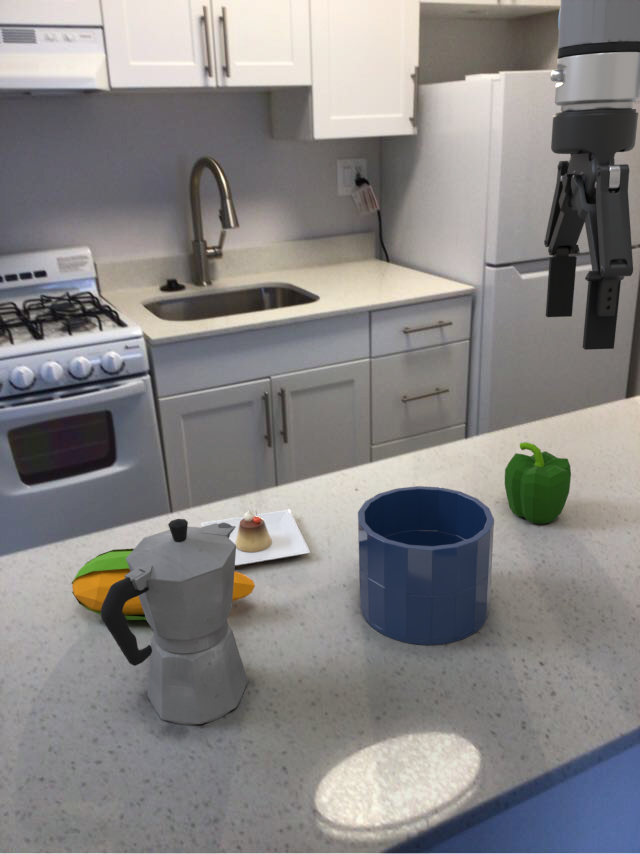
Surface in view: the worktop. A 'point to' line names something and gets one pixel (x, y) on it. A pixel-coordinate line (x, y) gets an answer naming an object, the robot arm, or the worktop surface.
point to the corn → (112, 568)
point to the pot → (425, 564)
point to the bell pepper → (537, 484)
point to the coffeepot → (183, 621)
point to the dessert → (264, 537)
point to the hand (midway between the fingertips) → (576, 331)
